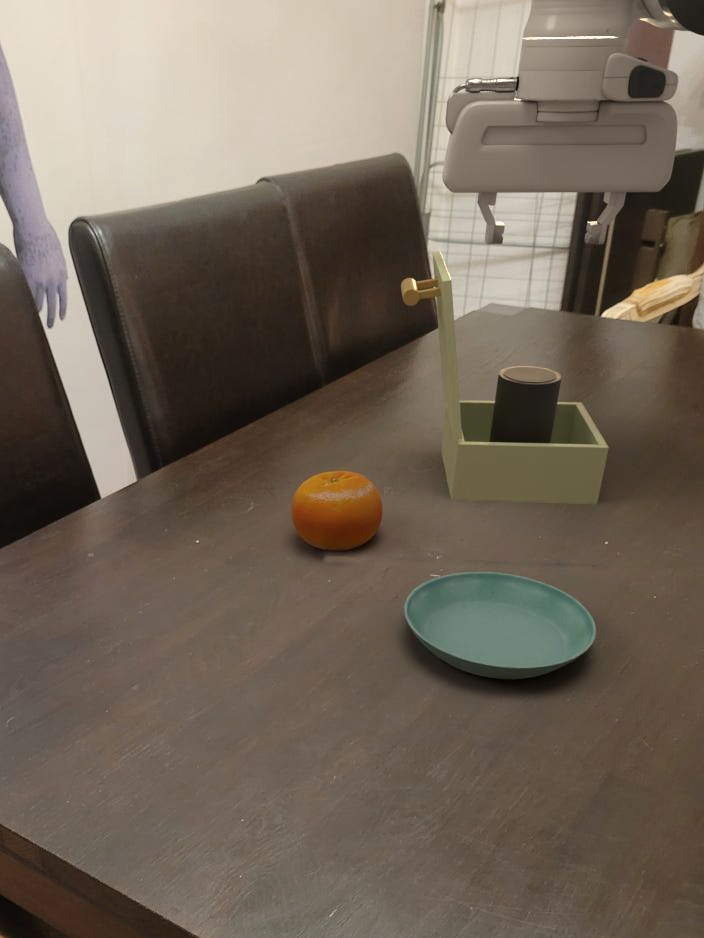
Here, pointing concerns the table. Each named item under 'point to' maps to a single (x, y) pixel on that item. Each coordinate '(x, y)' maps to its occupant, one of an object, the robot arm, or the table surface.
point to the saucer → (499, 624)
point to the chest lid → (441, 332)
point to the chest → (525, 459)
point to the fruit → (337, 510)
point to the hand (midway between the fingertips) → (543, 243)
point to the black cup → (525, 405)
